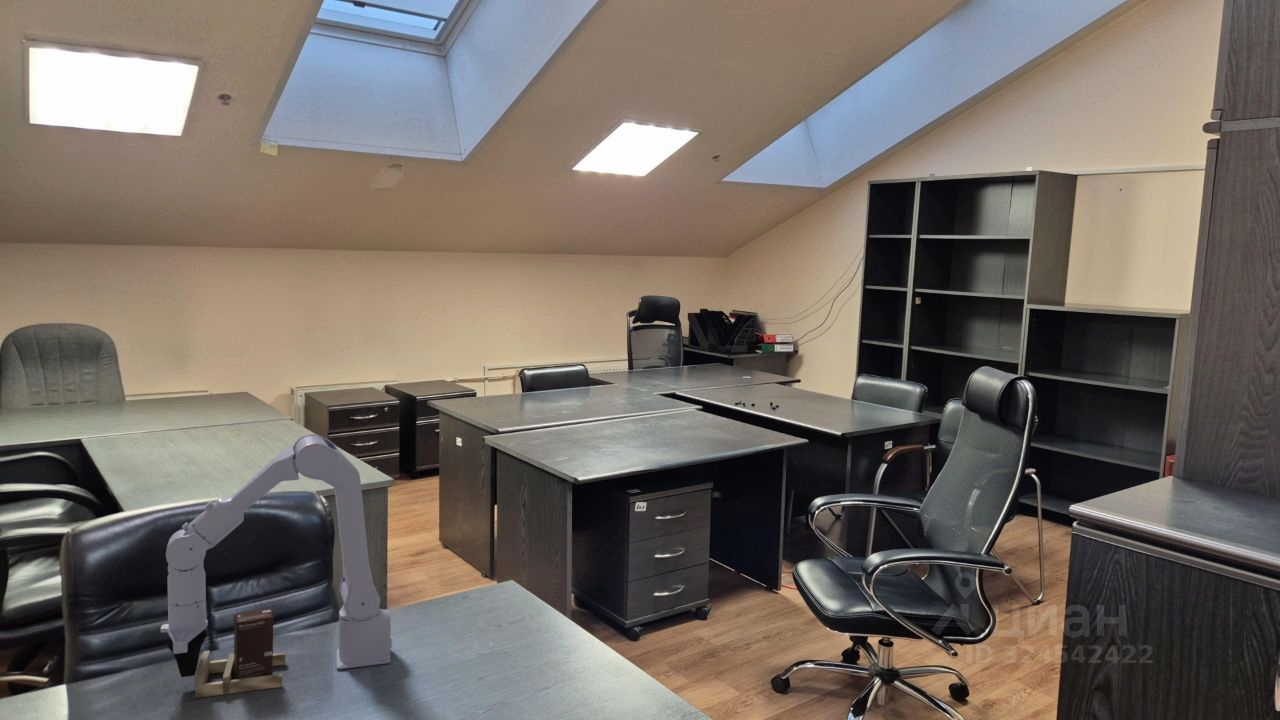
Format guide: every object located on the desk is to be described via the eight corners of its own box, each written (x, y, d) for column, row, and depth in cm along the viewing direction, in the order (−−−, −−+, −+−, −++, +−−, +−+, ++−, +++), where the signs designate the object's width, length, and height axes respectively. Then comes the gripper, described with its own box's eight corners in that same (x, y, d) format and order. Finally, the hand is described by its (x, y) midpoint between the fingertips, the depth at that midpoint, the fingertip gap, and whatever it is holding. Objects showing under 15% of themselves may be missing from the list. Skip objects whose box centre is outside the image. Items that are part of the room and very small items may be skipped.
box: (237, 688, 141) (236, 622, 139) (233, 677, 144) (233, 612, 143) (274, 680, 144) (273, 615, 143) (270, 669, 148) (269, 606, 146)
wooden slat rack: (285, 662, 150) (285, 642, 150) (281, 686, 142) (281, 665, 141) (203, 672, 145) (203, 651, 145) (195, 697, 137) (194, 675, 136)
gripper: (168, 586, 144) (170, 658, 146) (151, 619, 131) (153, 698, 132) (213, 582, 147) (214, 653, 148) (200, 614, 133) (201, 692, 135)
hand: (188, 674), depth 140 cm, fingers closed
